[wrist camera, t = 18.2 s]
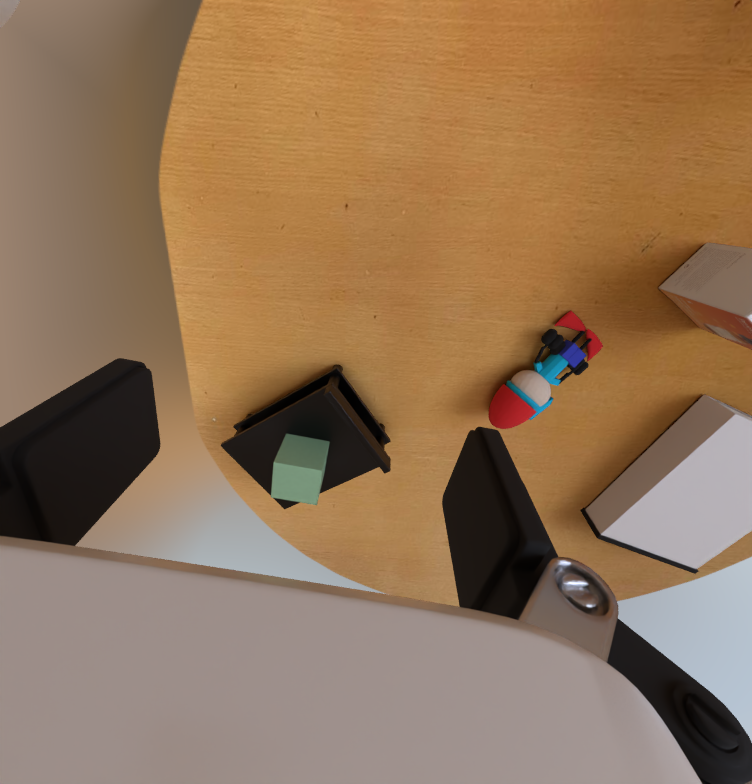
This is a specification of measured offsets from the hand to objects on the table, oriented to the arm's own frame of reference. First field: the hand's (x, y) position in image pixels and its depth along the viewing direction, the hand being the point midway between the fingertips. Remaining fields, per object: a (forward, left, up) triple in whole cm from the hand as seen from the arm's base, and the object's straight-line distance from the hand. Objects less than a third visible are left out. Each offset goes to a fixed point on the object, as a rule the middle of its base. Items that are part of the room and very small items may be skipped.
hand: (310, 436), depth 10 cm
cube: (-3, -21, -24) cm, 32 cm away
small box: (+35, +5, -31) cm, 47 cm away
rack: (-3, -21, -30) cm, 37 cm away
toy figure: (+22, -8, -31) cm, 38 cm away
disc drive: (+49, -19, -31) cm, 61 cm away
